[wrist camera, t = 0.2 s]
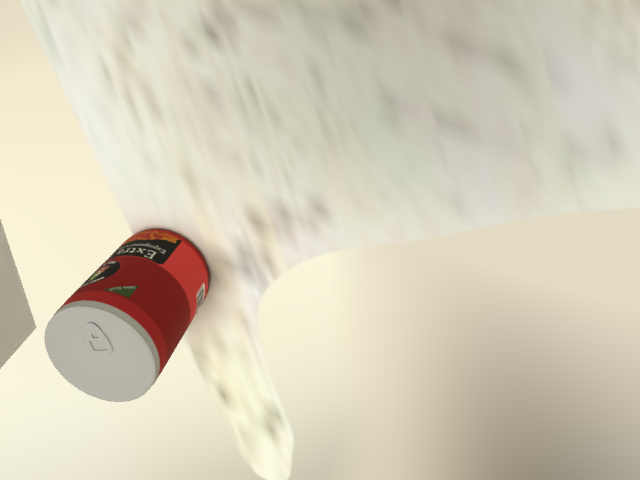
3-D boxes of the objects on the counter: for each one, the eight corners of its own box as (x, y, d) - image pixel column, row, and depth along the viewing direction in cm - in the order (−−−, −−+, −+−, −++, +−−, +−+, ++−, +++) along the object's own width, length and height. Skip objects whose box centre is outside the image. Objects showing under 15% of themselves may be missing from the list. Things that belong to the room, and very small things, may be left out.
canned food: (180, 213, 43) (111, 292, 33) (229, 295, 46) (178, 390, 36) (103, 242, 45) (18, 324, 36) (155, 318, 48) (89, 413, 39)
